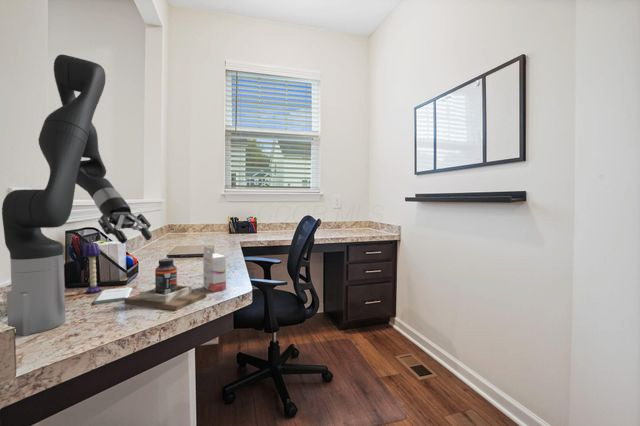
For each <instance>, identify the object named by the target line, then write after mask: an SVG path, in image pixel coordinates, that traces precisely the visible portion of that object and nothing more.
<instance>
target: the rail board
mask: <svg viewBox="0 0 640 426" xmlns="http://www.w3.org/2000/svg"><path fill="white" fill-rule="evenodd" d="M205 298H207V293H205V292H204V293H203V292H196V291H192V286H187V285H179V284H177V291H175V292H172V293H169V294H166V295H163V294H156V291H155V287H153V288H150V289H146V290H144V291H141V292H139V293H138V294H135V295H131V296H129V297H128V298H125V299H124V303H125V304H131V305H139V306H145V307H150V308H151V307H153V308H158V309H166V310H170V311H179V310H181V309H183V308H185V307H187V306H190V305H192V304H194V303H197V302H199V301H202V300H203V299H205Z"/></svg>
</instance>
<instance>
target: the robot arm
mask: <svg viewBox="0 0 640 426" xmlns="http://www.w3.org/2000/svg"><path fill="white" fill-rule="evenodd" d="M53 75H54V80H55V81H54V82H55V83H56V87H57V91H58V95H59V98H60V102H61V105H62V106H60V107H59V108H56V109H54V110H53V111H52V112H50V113H49V114H48V115H47V116H46V118H45V119H44V121H43V124H42V127H41V130H40V132H39V136H38V140H37V141H38V145H39V149H40V151H41V153H42V155H43V157H44V158H45V160H46V162H47V164H48V166H49V178H48V181H47V184H46V187H44V189H15V190H12V191H10V192H9V193H7V194H6V196H5V197H4V199H3V201H2V205H1V218H2V219H1V220H2V227H3V228H2V229H3V237H4V243H5V247H6V248H7V250H8V252H9V259H10V261H9V262H10V285H11V286H10V287H11V288H10V289H11V290H8V291H7V292H6V306H7V307H6V311H7V312H6V313H7V314H6V315H7V327H8V326H12V327H15V329H16V334H15V335H20V336H28V335H30V334H36V333H41V332H45V331H49V330H52V329H55V328H58V327H59V326H61V325H63V324H65V323H66V315H67V313H66V293H65V287H66V286H65V263H64V262H65V259H64V245H63V243H62V242H60V241H58V240H55V239H51V238H49V237H48V236H46V235H44V234H43V232H42V229H45V228H47V229H49V228H59V227H62V226H63V225H65V224H66V223H67V222H68V220H69V219H70V216H71V213H72V210H73V203H74V198H75V197H74V196H75V192H76V185H78V186H79V187H81V188H82V189H83V190H84V191H86V192H87V193H88V195H89V196H90V197H91V199H92V201H93V202H94V204H95V206H96V207H97V208H98V210H99V211H100V212H101V216H100V217H99V219H98V221H97V222H98V224H99V226H100V228H101V229H102V230H103V232H104V233H105V235H110V234H111V235H113V236H115V238H116V240H117V241H118V242H119V243H121V244H126V242H127V241H128V237H127V236H126V235H125V233H124V232H123V230H125V229H131V230H133V231H138V232H140V234H141V235H142V236H143V238H144V239H145V240H146V241H150V240H151V239H152V237H153V235H152V232H151V231H150V230H149V228H150V227H151V226H152V224H151V223H150V222H149V221H148V219H147V218H146V217H145V215H143V214H142V213H139V214H138V215H135V214H134V213H132V211H131V207H130V206H129V204H128V203H127V202H126V201H125V199H124V198H123V196H122V195H121V194H120V193H119V191H117V189H115V187H114V185H113V184H112V183H111V182H110V180H108V179H107V178H105V176H106V175H107V169H106V165H105V164H104V162H103V159H102V156H101V155H100V151H99V137H98V132H97V129H96V127H95V126H94V125H95V124H94V123H93V122H92V121H93V118H94V115H95V112H96V109H97V107H98V104H99V102H100V99H101V97H102V94H103V92H104V88H105V85H106V72H105V69H104V68H103V67H102V65H100V64H99V63H97V62H94V61H92V60H87V59H84V58H79V57H75V56H71V55H67V54H59V55H56V57H55V59H54V62H53ZM75 92H78V93H79V95H78V96H76V93H75ZM82 158H84V159H85V158H86V159H85V160H82ZM87 159H88V160H87ZM135 223H136V225H135ZM41 228H42V229H41Z"/></svg>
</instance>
